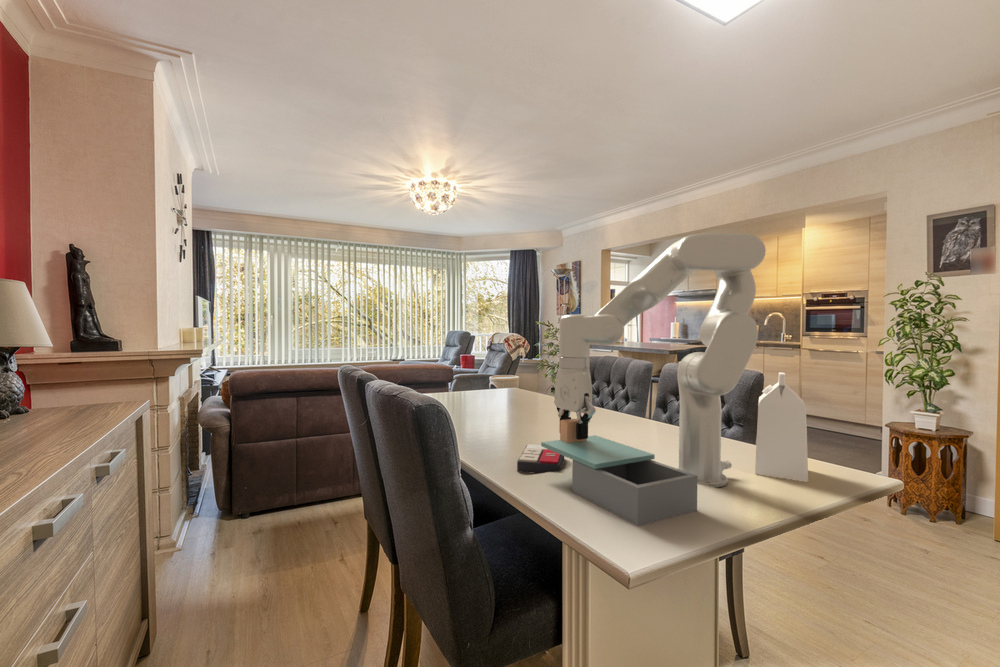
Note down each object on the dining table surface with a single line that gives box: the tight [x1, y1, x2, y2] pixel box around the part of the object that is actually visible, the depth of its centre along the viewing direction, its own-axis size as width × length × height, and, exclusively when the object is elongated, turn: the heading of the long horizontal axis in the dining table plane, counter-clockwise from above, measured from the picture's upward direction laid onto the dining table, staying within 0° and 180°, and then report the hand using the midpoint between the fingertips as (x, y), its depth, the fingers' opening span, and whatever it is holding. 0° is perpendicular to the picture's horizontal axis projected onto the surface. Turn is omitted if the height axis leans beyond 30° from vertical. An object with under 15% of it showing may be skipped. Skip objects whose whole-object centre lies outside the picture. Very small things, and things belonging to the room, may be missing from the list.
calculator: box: [516, 443, 565, 474], centre depth 127 cm, size 11×4×15 cm
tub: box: [571, 459, 698, 527], centre depth 98 cm, size 16×20×8 cm
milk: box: [754, 371, 809, 483], centre depth 122 cm, size 12×12×26 cm
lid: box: [540, 417, 656, 469], centre depth 109 cm, size 17×20×6 cm
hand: (573, 435), depth 117 cm, fingers open, 6 cm apart
